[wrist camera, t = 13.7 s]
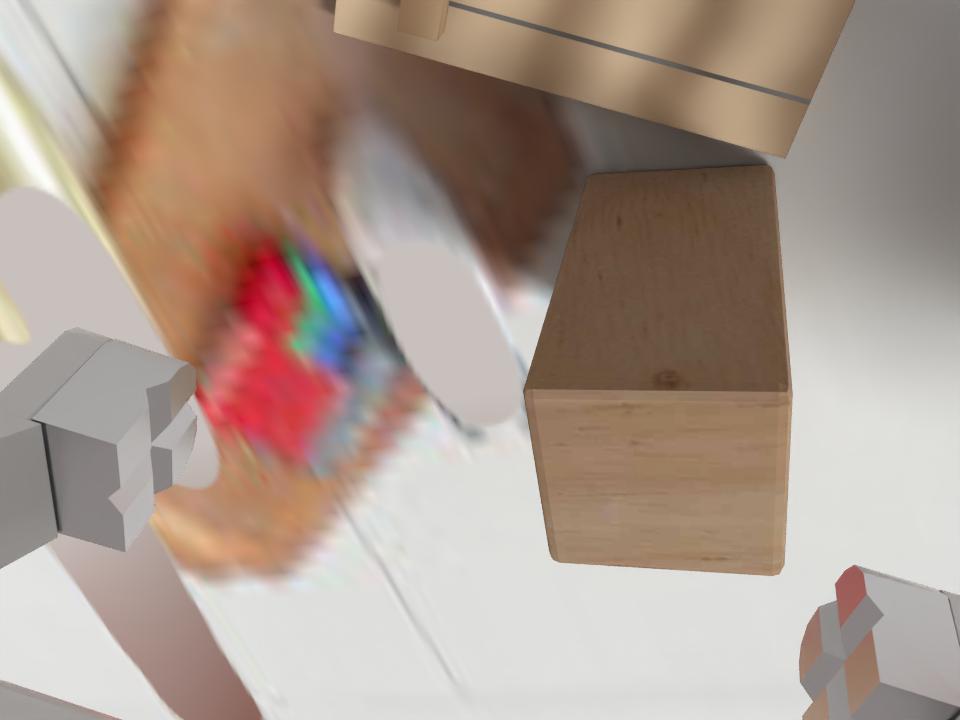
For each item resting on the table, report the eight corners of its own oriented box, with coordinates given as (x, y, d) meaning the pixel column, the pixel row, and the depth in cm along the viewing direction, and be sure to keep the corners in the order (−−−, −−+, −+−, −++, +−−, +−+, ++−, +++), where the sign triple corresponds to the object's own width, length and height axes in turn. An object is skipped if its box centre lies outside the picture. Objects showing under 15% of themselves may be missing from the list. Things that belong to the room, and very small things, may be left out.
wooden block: (586, 171, 50) (518, 388, 35) (774, 160, 48) (793, 391, 32) (600, 321, 56) (548, 566, 40) (769, 319, 53) (784, 581, 38)
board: (861, -36, 41) (866, -25, 40) (783, 142, 47) (785, 158, 45) (365, -168, 43) (350, -163, 41) (346, 21, 48) (333, 32, 47)
